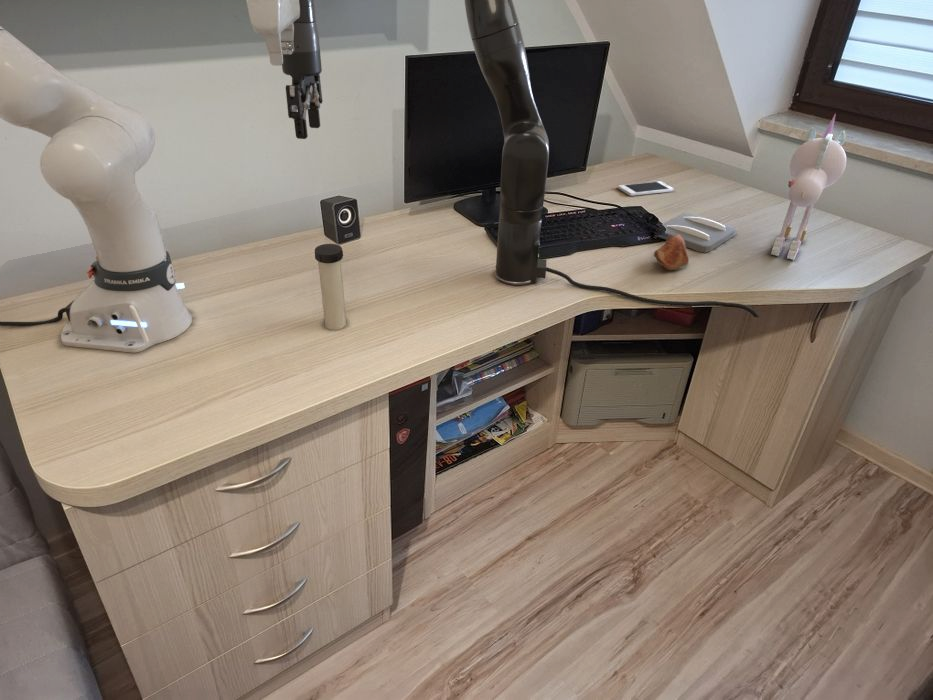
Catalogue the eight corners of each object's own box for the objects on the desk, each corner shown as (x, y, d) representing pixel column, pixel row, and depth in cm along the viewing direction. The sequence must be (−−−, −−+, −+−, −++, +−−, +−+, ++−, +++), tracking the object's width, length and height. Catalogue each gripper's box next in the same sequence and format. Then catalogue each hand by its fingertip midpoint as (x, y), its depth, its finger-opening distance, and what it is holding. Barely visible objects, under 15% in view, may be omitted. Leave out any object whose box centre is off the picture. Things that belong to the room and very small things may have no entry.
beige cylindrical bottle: (341, 317, 128) (334, 245, 119) (349, 326, 125) (343, 253, 116) (321, 322, 126) (313, 249, 117) (329, 331, 123) (322, 258, 114)
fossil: (662, 265, 143) (667, 221, 144) (634, 267, 151) (640, 225, 151) (699, 275, 150) (704, 233, 150) (671, 277, 157) (676, 237, 157)
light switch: (708, 241, 156) (653, 223, 165) (705, 253, 158) (650, 234, 167) (740, 223, 167) (687, 206, 176) (737, 234, 169) (684, 217, 178)
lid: (336, 249, 120) (335, 241, 119) (347, 259, 117) (346, 251, 116) (311, 255, 118) (310, 246, 117) (321, 265, 114) (320, 257, 113)
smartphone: (617, 188, 196) (618, 185, 196) (659, 183, 201) (660, 180, 200) (630, 196, 191) (630, 193, 190) (673, 191, 196) (674, 188, 195)
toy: (826, 222, 178) (867, 110, 161) (806, 269, 152) (852, 142, 135) (779, 212, 183) (814, 103, 167) (751, 256, 157) (789, 132, 141)
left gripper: (262, -50, 99) (274, 47, 107) (230, -45, 82) (248, 71, 90) (303, -49, 99) (312, 48, 107) (280, -43, 82) (293, 72, 90)
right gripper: (307, 54, 117) (315, 143, 126) (329, 42, 128) (336, 125, 137) (267, 51, 117) (278, 141, 126) (293, 40, 129) (302, 123, 138)
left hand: (283, 59), depth 98 cm, fingers open, 8 cm apart
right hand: (308, 132), depth 132 cm, fingers open, 8 cm apart
